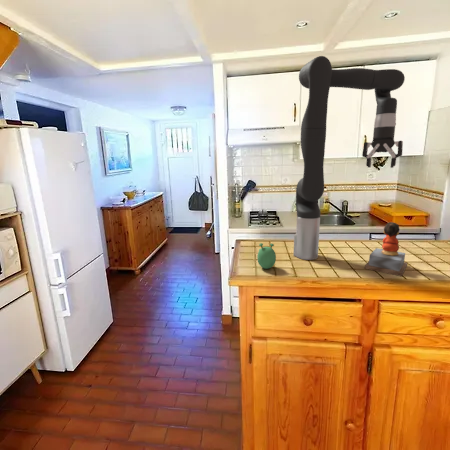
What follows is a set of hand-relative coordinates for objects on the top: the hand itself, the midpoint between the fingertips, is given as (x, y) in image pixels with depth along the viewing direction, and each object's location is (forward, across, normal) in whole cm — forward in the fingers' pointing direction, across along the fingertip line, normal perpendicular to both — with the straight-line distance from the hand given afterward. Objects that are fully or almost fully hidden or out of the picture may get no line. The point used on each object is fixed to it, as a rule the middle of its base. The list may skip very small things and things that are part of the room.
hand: (380, 167), depth 119 cm
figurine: (+31, +10, -17) cm, 37 cm away
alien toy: (+36, -27, -45) cm, 64 cm away
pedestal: (+36, +9, -18) cm, 41 cm away
